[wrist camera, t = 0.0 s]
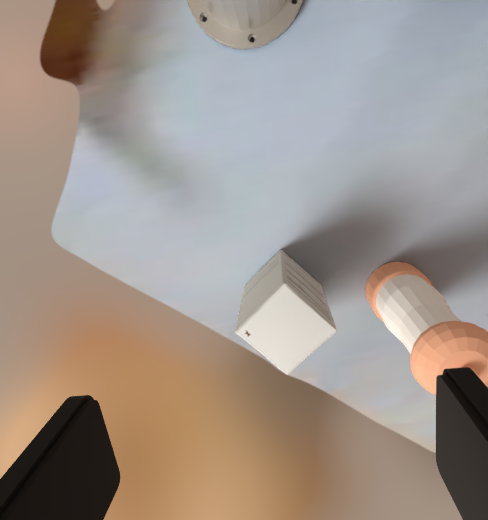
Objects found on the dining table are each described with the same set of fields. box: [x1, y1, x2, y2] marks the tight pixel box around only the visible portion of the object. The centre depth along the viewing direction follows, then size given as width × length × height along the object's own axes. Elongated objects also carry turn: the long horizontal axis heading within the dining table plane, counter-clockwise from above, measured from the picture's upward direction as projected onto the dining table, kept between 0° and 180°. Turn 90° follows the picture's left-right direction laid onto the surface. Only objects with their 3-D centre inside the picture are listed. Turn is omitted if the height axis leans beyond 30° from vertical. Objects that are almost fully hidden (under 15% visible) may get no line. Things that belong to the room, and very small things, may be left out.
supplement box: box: [235, 250, 337, 375], centre depth 42 cm, size 7×7×13 cm
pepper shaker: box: [365, 261, 488, 395], centre depth 38 cm, size 7×7×19 cm
